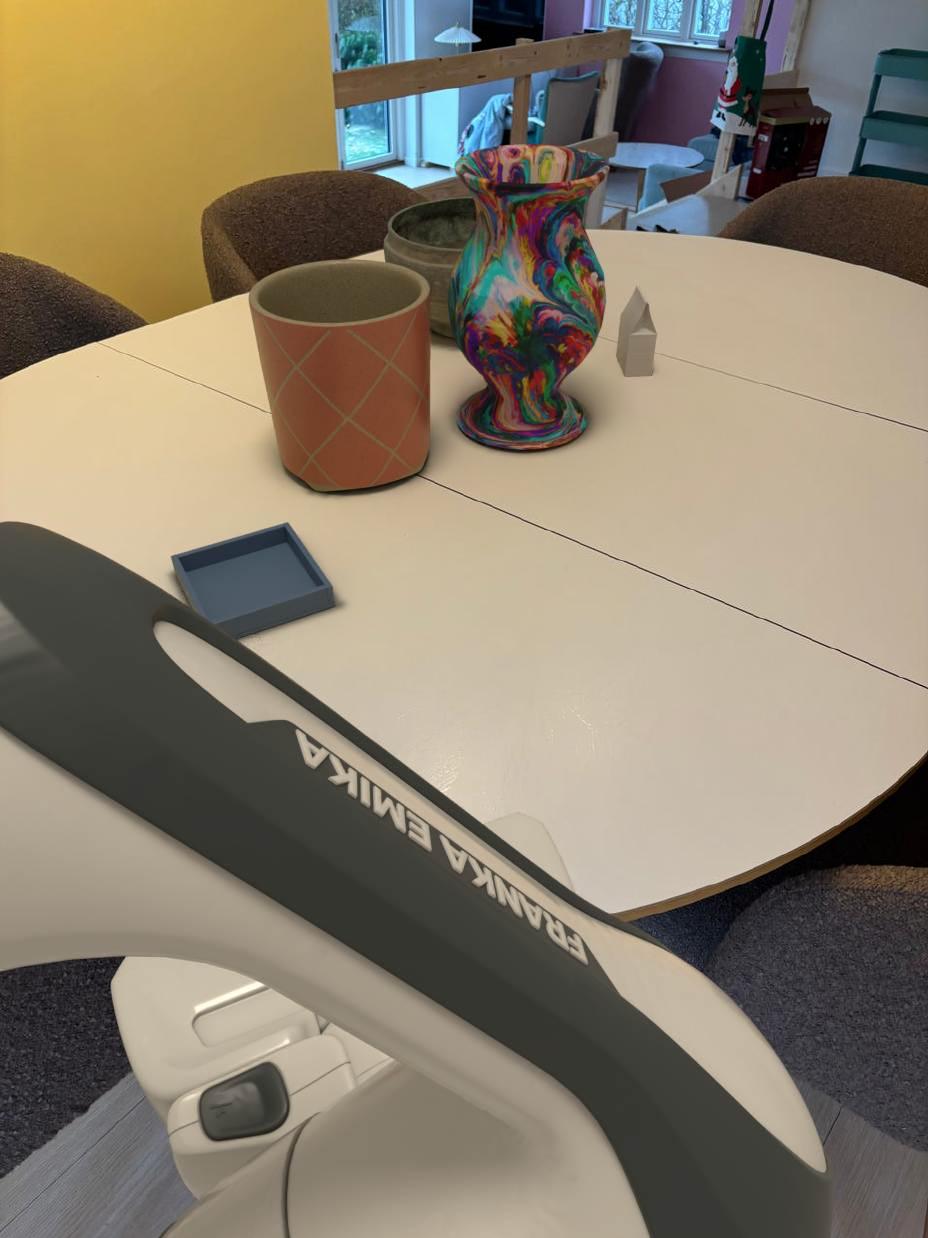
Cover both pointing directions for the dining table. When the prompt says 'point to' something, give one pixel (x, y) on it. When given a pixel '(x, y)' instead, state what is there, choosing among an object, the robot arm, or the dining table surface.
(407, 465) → the planter
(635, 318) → the gable top carton
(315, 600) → the tray
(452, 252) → the bowl
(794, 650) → the dining table surface
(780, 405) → the dining table surface
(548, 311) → the vase
